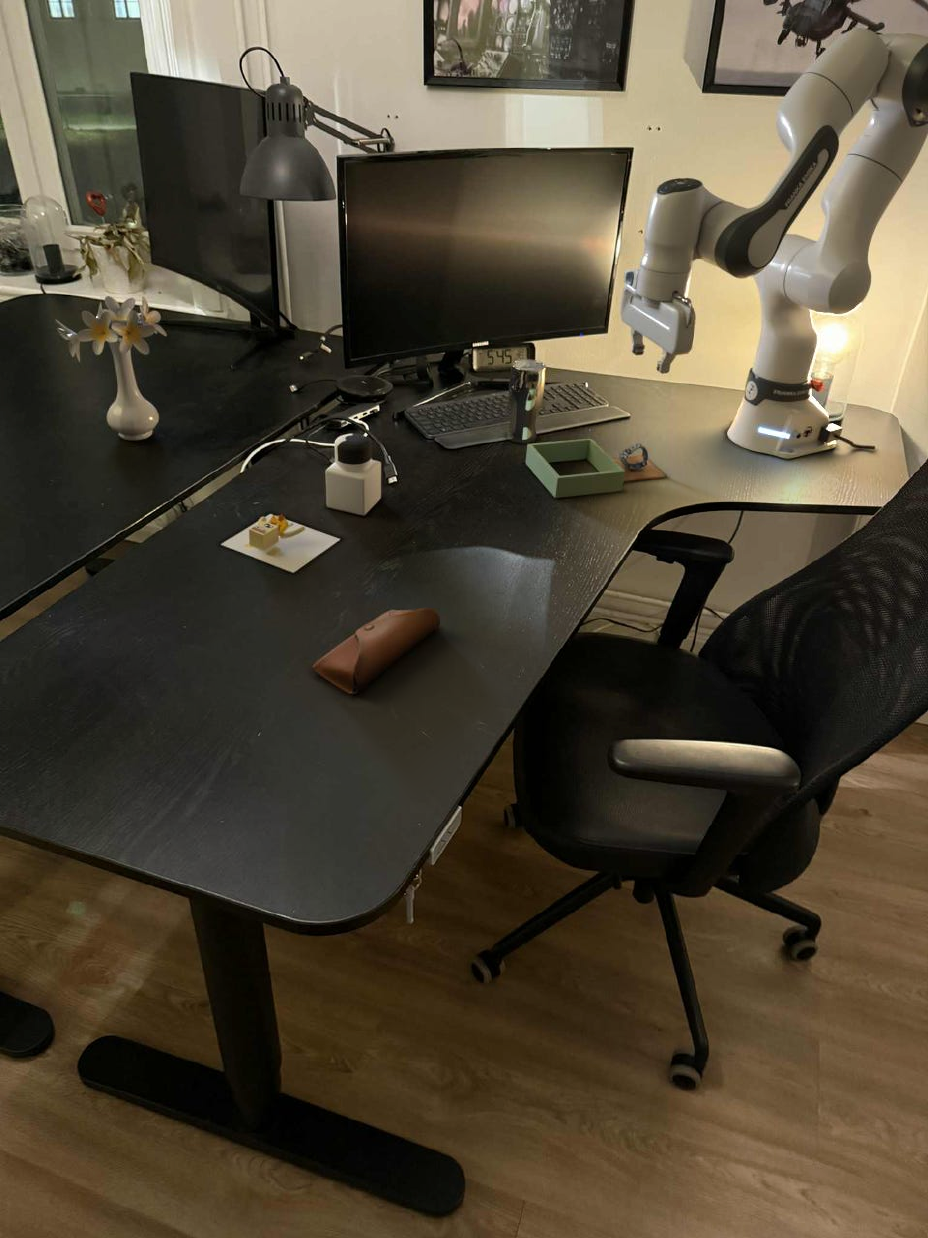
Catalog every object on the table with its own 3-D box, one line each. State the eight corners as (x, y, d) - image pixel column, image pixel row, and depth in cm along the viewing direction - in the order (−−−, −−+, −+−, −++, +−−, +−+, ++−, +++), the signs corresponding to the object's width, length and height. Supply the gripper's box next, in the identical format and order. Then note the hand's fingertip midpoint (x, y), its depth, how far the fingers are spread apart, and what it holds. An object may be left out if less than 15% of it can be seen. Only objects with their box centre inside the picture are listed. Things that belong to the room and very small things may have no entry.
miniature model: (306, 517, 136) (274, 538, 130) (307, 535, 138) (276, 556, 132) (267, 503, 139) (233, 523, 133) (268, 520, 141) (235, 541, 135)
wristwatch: (628, 470, 168) (615, 454, 165) (651, 455, 166) (638, 438, 163) (633, 479, 165) (620, 463, 162) (656, 463, 164) (643, 446, 161)
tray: (588, 457, 169) (591, 438, 167) (621, 490, 158) (625, 471, 156) (525, 463, 165) (527, 443, 163) (555, 498, 154) (557, 477, 152)
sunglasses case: (392, 605, 124) (412, 580, 119) (425, 641, 123) (447, 617, 118) (307, 669, 111) (326, 644, 106) (344, 709, 111) (365, 686, 106)
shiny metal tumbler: (536, 446, 172) (544, 373, 163) (501, 441, 173) (508, 368, 164) (540, 432, 177) (549, 361, 169) (507, 428, 178) (514, 356, 169)
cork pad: (642, 457, 171) (642, 455, 170) (665, 477, 164) (665, 475, 164) (601, 461, 168) (601, 459, 168) (622, 482, 161) (623, 480, 161)
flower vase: (70, 438, 162) (40, 302, 148) (156, 412, 174) (136, 284, 159) (108, 461, 156) (80, 321, 141) (195, 433, 168) (177, 301, 153)
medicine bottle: (381, 498, 151) (381, 434, 143) (364, 516, 145) (363, 451, 138) (344, 490, 152) (342, 426, 145) (326, 507, 147) (323, 442, 140)
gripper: (711, 300, 142) (694, 382, 150) (650, 267, 157) (638, 343, 165) (677, 302, 140) (662, 385, 148) (619, 269, 155) (609, 345, 164)
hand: (649, 362), depth 157 cm, fingers open, 8 cm apart
